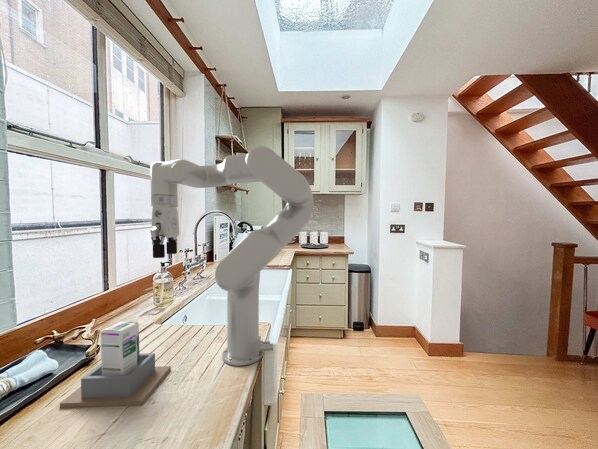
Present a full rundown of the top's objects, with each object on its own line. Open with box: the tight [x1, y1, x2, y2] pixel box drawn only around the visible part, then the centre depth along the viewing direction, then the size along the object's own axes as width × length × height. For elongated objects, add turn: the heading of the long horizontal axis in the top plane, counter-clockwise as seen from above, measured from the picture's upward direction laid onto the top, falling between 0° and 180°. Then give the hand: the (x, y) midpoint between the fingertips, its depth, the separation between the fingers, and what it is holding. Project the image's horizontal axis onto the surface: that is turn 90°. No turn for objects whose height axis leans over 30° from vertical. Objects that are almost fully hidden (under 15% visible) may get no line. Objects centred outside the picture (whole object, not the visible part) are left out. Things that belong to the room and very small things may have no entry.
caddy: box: [59, 352, 172, 409], centre depth 65 cm, size 18×14×6 cm
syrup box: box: [100, 320, 141, 376], centre depth 65 cm, size 6×6×14 cm
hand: (165, 255), depth 82 cm, fingers open, 9 cm apart
